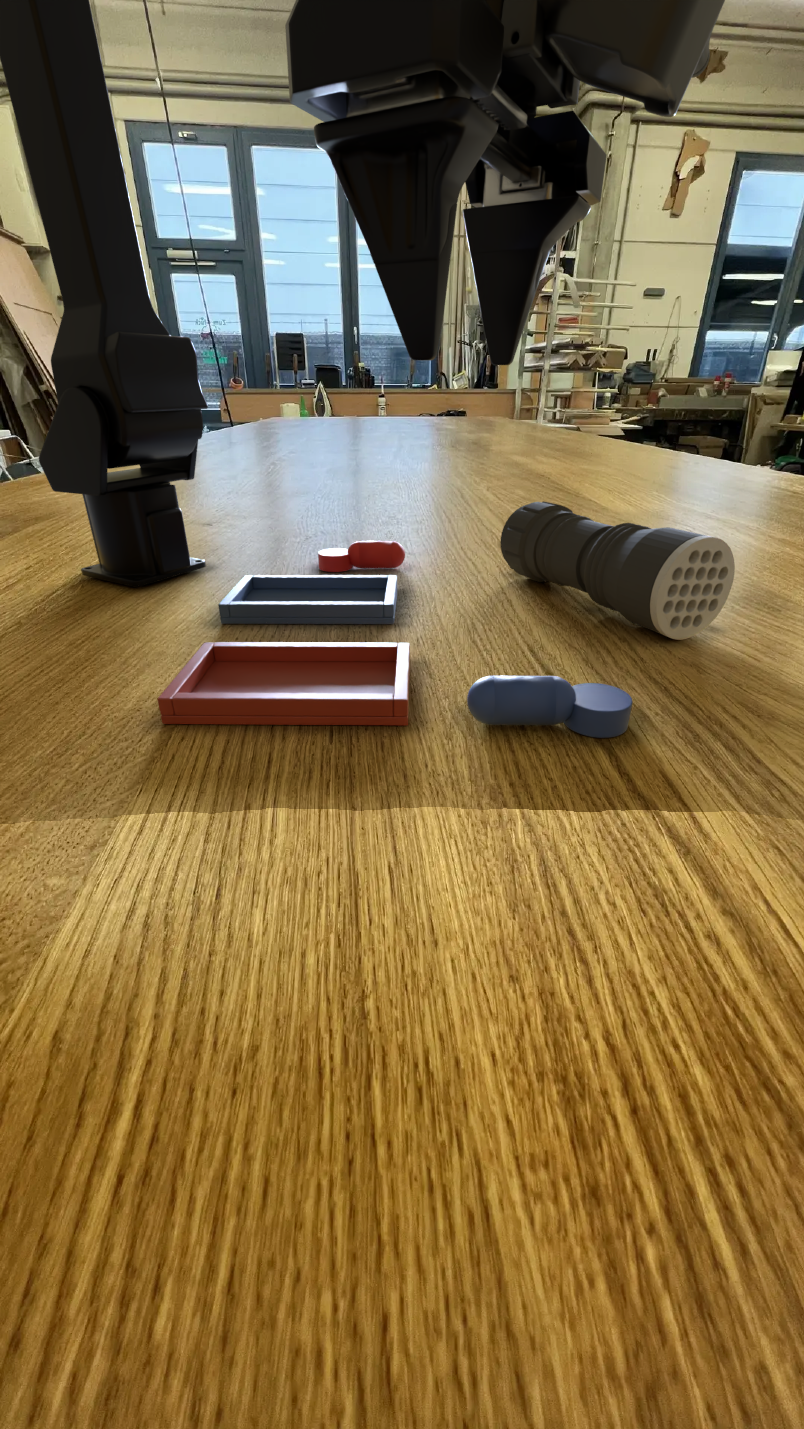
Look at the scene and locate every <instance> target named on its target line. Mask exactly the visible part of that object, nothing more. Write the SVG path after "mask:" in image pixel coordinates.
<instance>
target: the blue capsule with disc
mask: <svg viewBox="0 0 804 1429" xmlns="http://www.w3.org/2000/svg"><path fill="white" fill-rule="evenodd" d="M466 702H467V703H466V704H467V705H466V706H467V709H468V711H469V712H470V715H471V716H472V717H473V718H474V719H476V721H478V722H480V723H482V724H484V725H490V726H491V725H492V726H557V725H559V724H564V725H565V727H567V728H568V729H569V730H571V731H573V732H574V733H577V734H579V735H582V736H586V737H589V738H590V737H591V738H598V739H607V738H614V737H615V738H616V737H618V736H621V735H623V734H624V733H626V731H627V730H628V727H629V723H630V718H631V713H632V708H633V698H632V696H631V695H630V694H629V693H628V692H627V691H625V690H624V689H621V688H619V687H617V686H613V685H610V684H605V683H599V682H583V683H577V684H574V685H572V684H571V683H570V682H569V681H567V680H566V679H564V678H562V677H560V676H557V675H487V676H483V677H481V678H479V679H477V680H476V681H475V682H473V684H472V685H471V686H470V688H469V689H468V692H467V696H466Z"/></svg>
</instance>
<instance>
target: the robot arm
mask: <svg viewBox="0 0 804 1429" xmlns="http://www.w3.org/2000/svg"><path fill="white" fill-rule="evenodd" d="M725 2H726V0H295V1H294V3H293V6H292V8H291V10H290V13H289V15H288V18H287V20H286V23H285V42H286V60H287V78H288V80H287V81H288V94H289V95H288V96H289V103H290V104H291V105H293V106H295V107H297V108H299V109H300V110H302V111H304V112H306V113H307V114H309V115H311V116H313V117H314V118H316V119H318V120H320V121H321V122H319V123H317V124H315V125H314V126H313V136H314V140H315V145H316V146H317V148H318V149H320V150H321V151H323V152H324V153H325V154H326V156H327V157H328V159H329V161H330V164H331V166H332V168H333V171H334V174H336V177H337V179H338V181H339V184H340V186H341V188H342V191H343V193H344V195H345V198H346V201H347V202H348V206H349V207H350V209H351V212H352V214H353V217H354V219H355V221H356V223H357V226H358V228H359V230H360V233H361V235H362V238H363V240H364V242H365V244H366V248H367V249H368V253H369V254H370V255H369V256H370V257H371V260H372V262H373V264H374V267H375V270H376V272H377V276H378V277H379V280H380V284H381V286H382V288H383V291H384V294H385V296H386V299H387V301H388V304H389V307H390V309H391V312H392V315H393V317H394V320H395V323H396V325H397V327H398V330H399V333H400V335H401V338H402V341H403V343H404V346H405V349H406V351H407V354H408V356H409V358H410V359H411V360H413V361H417V362H419V361H421V362H423V361H433V360H435V359H436V357H437V355H438V350H439V345H440V339H441V338H440V337H441V334H442V327H443V321H444V314H445V306H446V298H447V290H448V282H449V275H450V274H449V273H450V267H451V258H452V251H453V250H452V249H453V242H454V234H455V226H456V218H457V210H458V202H459V197H460V194H461V190H462V188H463V187H464V185H465V188H466V192H467V197H468V201H469V204H470V206H473V207H470V208H469V207H468V208H463V209H462V216H463V221H464V228H465V233H466V240H467V244H468V249H469V250H468V251H469V255H470V261H471V266H472V272H473V278H474V282H475V287H476V289H475V290H476V294H477V300H478V305H479V310H480V317H481V322H482V328H483V332H484V337H485V341H486V346H487V352H488V355H489V360H490V364H492V365H493V366H510V365H512V364H513V362H514V359H515V356H516V354H517V351H518V347H519V344H520V341H521V338H522V336H523V333H524V329H525V326H526V323H527V320H528V317H529V314H530V311H531V308H532V304H533V301H534V299H535V296H536V293H537V289H538V287H539V283H540V281H541V278H542V275H543V272H544V269H545V267H546V264H547V261H548V258H549V256H550V253H551V251H552V249H553V247H554V246H555V245H556V243H557V242H558V241H559V240H560V239H561V238H562V237H563V236H564V235H565V234H566V233H567V232H568V231H570V229H571V228H572V227H573V226H574V225H575V224H576V223H580V222H583V221H584V219H586V218H587V216H588V214H589V213H590V211H591V209H592V208H591V207H592V206H594V205H596V204H598V203H601V201H602V193H603V184H604V177H605V170H606V169H605V168H606V162H607V154H606V151H604V149H603V148H602V147H601V145H600V143H599V142H598V141H597V139H596V138H595V136H594V135H593V133H592V132H591V131H590V129H589V128H588V127H587V126H586V125H585V124H584V122H583V121H582V120H581V118H580V117H579V115H578V114H577V113H576V112H575V111H574V110H568V111H563V112H558V113H551V114H545V115H540V116H539V115H538V116H537V110H538V108H539V107H544V106H547V107H548V108H549V109H556V108H562V107H563V108H564V107H567V106H568V107H569V106H574V105H578V103H579V94H580V87H581V86H580V85H581V83H582V84H585V85H588V86H590V87H593V88H595V89H599V90H602V91H605V92H608V93H611V94H614V95H617V96H621V97H624V98H627V99H630V100H633V101H636V102H639V103H642V104H643V106H644V109H645V111H646V112H647V113H649V114H653V115H655V116H658V117H663V118H664V117H665V118H673V117H674V116H676V115H677V113H678V110H679V107H680V105H681V103H682V101H683V98H684V96H685V94H686V92H687V90H688V89H687V88H688V87H689V84H690V83H691V81H692V79H693V78H697V77H699V76H700V75H701V74H703V72H704V71H705V69H706V68H707V66H708V65H709V62H710V58H711V52H710V42H711V37H712V34H713V31H714V27H715V26H716V23H717V22H718V19H719V16H720V13H721V11H722V9H723V6H724V4H725ZM91 8H92V7H91V2H90V0H0V63H1V67H2V68H1V69H2V72H3V75H4V79H5V82H6V88H7V91H8V94H9V98H10V102H11V106H12V110H13V114H14V118H15V122H16V126H17V129H18V133H19V137H20V142H21V145H22V149H23V152H24V157H25V160H26V165H27V168H28V172H29V177H30V180H31V184H32V188H33V191H34V194H35V199H36V202H37V207H38V210H39V215H40V218H41V223H42V227H43V229H44V234H45V238H46V241H47V245H48V249H49V252H50V257H51V261H52V265H53V268H54V271H55V276H56V280H57V284H58V288H59V292H60V295H61V300H62V306H63V312H62V315H61V316H62V317H61V320H60V323H59V328H58V331H57V334H56V338H55V342H54V346H53V349H52V352H51V356H50V365H51V371H52V378H53V383H54V389H55V393H56V399H57V400H56V401H57V405H56V409H55V410H54V411H55V412H54V414H53V417H52V420H51V423H50V426H49V428H48V431H47V434H46V437H45V439H44V442H43V445H42V447H41V450H40V453H39V455H38V463H39V465H40V467H41V469H42V471H43V473H44V475H45V477H46V479H47V481H48V483H49V486H50V488H51V490H52V491H53V492H54V493H55V492H56V493H66V494H76V495H81V496H82V499H83V503H84V507H85V511H86V515H87V520H88V523H89V527H90V531H91V535H92V539H93V543H94V544H93V545H94V548H95V551H96V556H97V559H98V563H95V564H93V565H89V566H84V567H81V568H80V571H81V575H82V576H83V577H84V576H85V577H89V578H93V579H98V580H102V581H106V582H110V583H111V582H112V583H115V584H120V585H124V586H129V587H133V588H134V587H135V588H137V587H138V588H139V587H144V586H147V585H151V584H154V583H157V582H160V581H163V580H166V579H170V578H173V577H177V576H180V575H183V574H187V573H189V572H193V571H197V570H199V569H203V568H206V567H207V564H206V560H205V559H200V558H195V557H191V556H190V549H189V544H188V538H187V532H186V526H185V522H184V515H183V511H182V509H181V508H180V504H179V499H178V493H177V488H176V485H175V484H171V483H172V482H179V481H192V480H194V479H195V474H196V466H197V455H198V444H199V440H201V439H202V437H203V433H204V432H203V431H204V420H203V412H202V410H208V408H209V405H208V402H207V400H206V398H205V395H204V394H203V391H202V387H201V383H200V378H199V368H198V354H197V350H196V348H195V346H194V343H193V341H192V339H191V338H190V337H188V336H178V335H171V333H170V332H169V330H168V329H167V327H166V326H165V324H164V323H163V322H162V320H161V319H160V317H159V315H158V314H157V312H156V311H155V309H154V306H153V304H152V301H151V297H150V292H149V288H148V283H147V278H146V272H145V268H144V263H143V258H142V253H141V248H140V243H139V238H138V233H137V229H136V228H137V227H136V223H135V218H134V214H133V208H132V203H131V199H130V194H129V189H128V184H127V179H126V174H125V171H124V165H123V160H122V155H121V149H120V145H119V140H118V135H117V130H116V125H115V120H114V115H113V112H112V110H113V109H112V106H111V101H110V96H109V90H108V86H107V82H106V76H105V71H104V67H103V62H102V57H101V52H100V47H99V42H98V36H97V33H96V28H95V21H94V18H93V13H92V9H91ZM134 466H139V467H137V468H130V469H124V470H115V471H108V469H109V470H111V469H117V468H119V469H120V468H126V467H134Z"/></svg>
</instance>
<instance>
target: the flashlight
mask: <svg viewBox="0 0 804 1429" xmlns="http://www.w3.org/2000/svg"><path fill="white" fill-rule="evenodd" d="M500 551H501V555H502V557H503V559H504V561H505V562H506V564H507V566H508V567H509V568H510V569H511V570H513V571H514V572H515V573H516V574H518V575H520V576H521V577H522V576H523V577H525V578H527V579H530V580H533V581H535V582H538V583H543V582H550V583H553V584H555V585H558V586H561V587H571V588H573V589H575V590H578V591H581V592H583V593H586V594H587V595H588V597H589V598H590V599H591V600H592V601H593V602H594V603H595V604H597V605H599V606H601V607H604V608H606V609H609V610H611V611H614V612H618V613H619V614H620V615H621V616H622V617H624V618H625V620H627V621H629V622H630V623H633V624H635V625H637V626H640V627H643V628H645V629H647V630H650V631H653V632H656V633H658V634H659V635H662V636H665V637H666V638H667V637H668V638H670V639H672V640H678V641H679V640H686V639H690V638H692V637H693V638H694V637H695V636H696V635H698V634H700V633H701V632H703V631H704V630H705V629H707V628H708V627H709V626H710V625H711V624H712V623H713V622H714V620H715V619H716V618H717V617H718V616H719V614H720V613H721V612H722V609H723V608H724V606H725V604H726V603H727V600H728V598H729V595H730V593H731V590H732V587H733V585H734V584H733V583H734V580H735V572H736V570H735V569H736V566H735V565H736V564H735V557H734V553H733V551H732V549H731V547H730V546H729V545H728V543H727V542H726V541H724V540H723V539H721V538H718V537H716V536H711V535H706V534H702V533H697V532H693V531H688V530H684V529H680V528H679V529H678V528H675V527H655V528H652V527H649V526H647V525H646V526H645V525H641V524H636V523H632V522H624V523H623V522H622V523H619V524H616V525H611V524H606V523H603V522H598V521H595V520H594V519H591V518H590V517H588V516H584V515H580V514H576V513H574V512H573V510H572V509H570V508H568V507H567V506H565V505H561V504H557V503H552V502H549V501H534V502H530V503H528V504H524V505H522V506H520V507H519V508H517V509H515V511H513V512H512V513H511V515H510V516H509V517H508V518H507V519H506V521H505V523H504V525H503V528H502V530H501V535H500Z"/></svg>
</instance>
